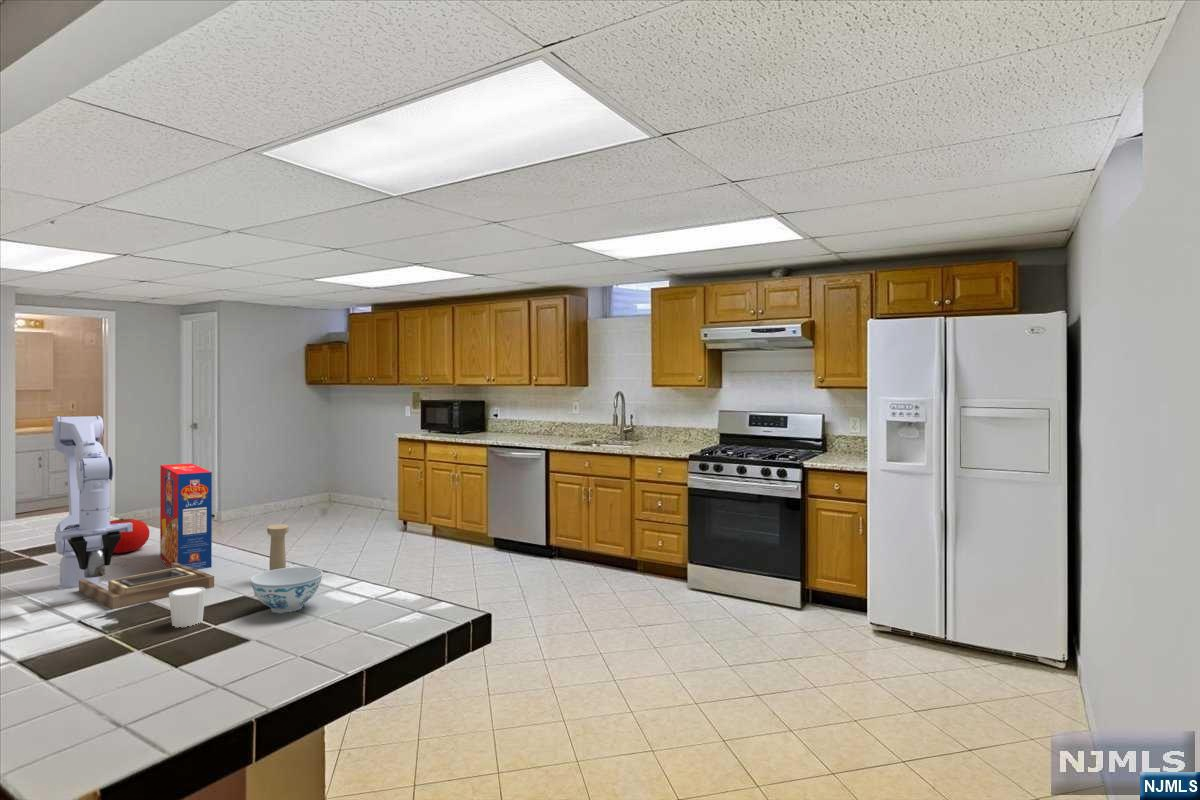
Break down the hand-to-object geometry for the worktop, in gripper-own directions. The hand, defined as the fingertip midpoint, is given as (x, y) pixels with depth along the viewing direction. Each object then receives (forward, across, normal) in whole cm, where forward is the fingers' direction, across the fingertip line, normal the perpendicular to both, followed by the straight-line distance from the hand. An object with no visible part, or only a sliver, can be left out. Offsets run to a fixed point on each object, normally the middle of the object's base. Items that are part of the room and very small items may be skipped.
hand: (94, 566), depth 154 cm
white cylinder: (+9, +8, -30) cm, 32 cm away
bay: (+9, +11, 0) cm, 14 cm away
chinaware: (+9, +26, -37) cm, 47 cm away
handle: (+9, +35, -16) cm, 40 cm away
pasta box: (+9, +28, +24) cm, 38 cm away
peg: (+2, 0, 0) cm, 2 cm away
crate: (+8, +11, -4) cm, 14 cm away
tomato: (+9, +23, +55) cm, 60 cm away
